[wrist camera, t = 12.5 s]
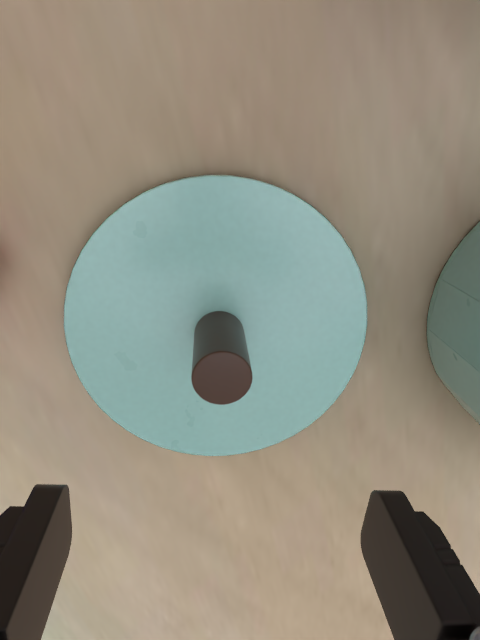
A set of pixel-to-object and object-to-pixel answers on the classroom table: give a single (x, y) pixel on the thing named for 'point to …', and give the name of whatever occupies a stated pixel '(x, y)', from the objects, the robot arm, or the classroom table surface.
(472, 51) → the classroom table surface
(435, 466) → the classroom table surface
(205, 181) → the pot lid
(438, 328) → the pot
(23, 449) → the classroom table surface
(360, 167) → the classroom table surface
